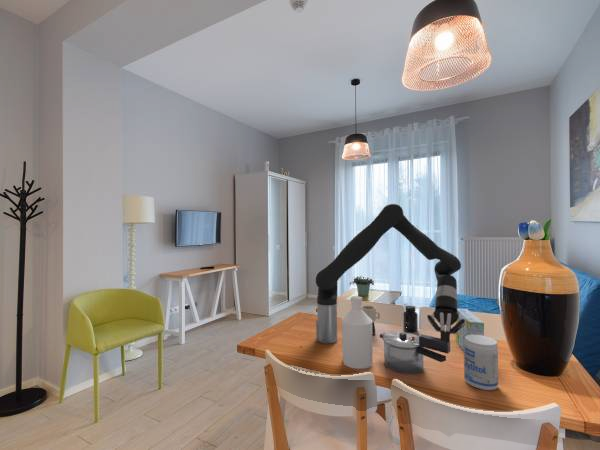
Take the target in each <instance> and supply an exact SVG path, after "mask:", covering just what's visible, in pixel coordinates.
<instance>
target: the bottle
mask: <svg viewBox="0 0 600 450" xmlns="http://www.w3.org/2000/svg"><path fill="white" fill-rule="evenodd" d="M350 302H351V309H350V310H349V311H348V312H347V313H346V314H345V315H344V317H342V318H341V337H342V339H341V342H342V343H341V344H342V363H343V365H345V366H346V367H349V368H352V369H357V370H359V369H360V370H363V369H369V368H370V367H372V365H373V334H372V320H371V319H370V318H369V317H368V316H367V315H366V313H365V312H364V311H363V310H362V306H363V303H362V302H363V297H362V296H357V295H356V296H350Z"/></svg>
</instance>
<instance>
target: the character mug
mask: <svg viewBox="0 0 600 450" xmlns="http://www.w3.org/2000/svg"><path fill="white" fill-rule="evenodd" d="M362 310H363V311H364V312H365V313H366V315H367V316H368V317H369V318H370V319H371V320H372V335H373V334H376V328H375V321H376V319H380V317H381V316H380V311H377V307H376V306H373V305H367V304H366V305H362Z"/></svg>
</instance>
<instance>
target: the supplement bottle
mask: <svg viewBox="0 0 600 450" xmlns="http://www.w3.org/2000/svg"><path fill="white" fill-rule="evenodd" d="M404 310H405V311H404V312H403V313H402V314H403V316H402V318H403V319H402V320H403V321H402V322H403V323H402V324H403V325H402V326H403V327H402V328H403V331H405V332H406V333H417V332H418V331H419V330H418V329H419V328H418V325H419V323H418V321H419V320H418V316H419V315H418V313H417V312H416V306H413V305H405V309H404ZM406 327H407V328H406Z"/></svg>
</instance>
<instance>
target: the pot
mask: <svg viewBox="0 0 600 450" xmlns="http://www.w3.org/2000/svg"><path fill="white" fill-rule="evenodd" d="M385 334H387V333H386V332H382V333H379V338H380V339H382V340H383V336H384V335H385ZM383 353H384V355H383V360H384V361H383V363H384V366H385V367H386V368H387V369H388V370H391V371H392V372H395V373H398V374H404V375H416V374H420V373H422V372H423V371H424V366H425V365H424V356H425V357H427V358H430V359H432V360H435V361H437V362H440V363H443V362H446V361H447V356H446V355H444V354H440V353H439V352H437V351H436V352H435V350H432V349H428V348H425V347H420V348H415V349H404V348H398V347H394V346H391V345H388V344H387V343H385V342H384V341H383Z"/></svg>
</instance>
